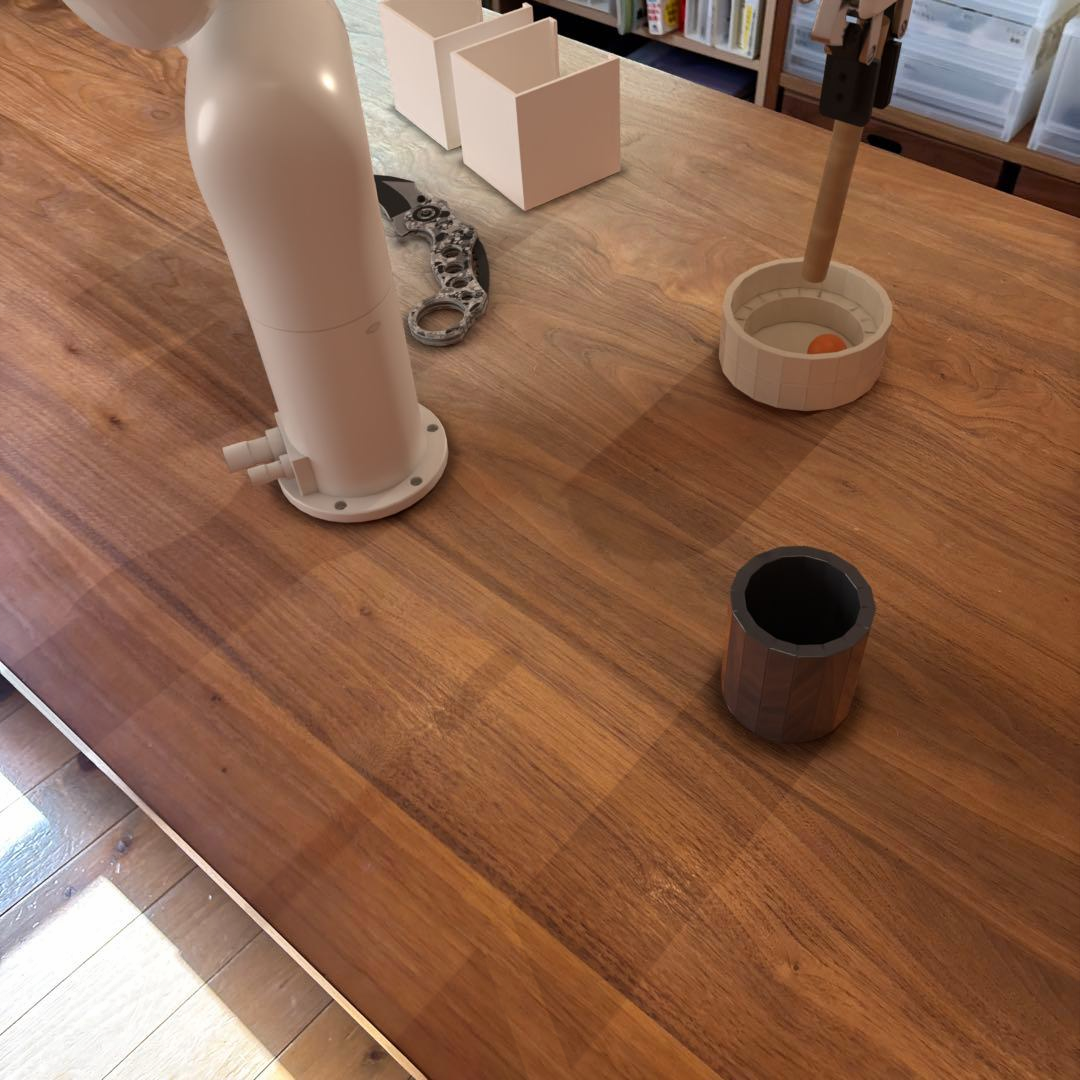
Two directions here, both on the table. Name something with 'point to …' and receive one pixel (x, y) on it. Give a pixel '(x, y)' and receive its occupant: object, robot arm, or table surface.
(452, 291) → the knife
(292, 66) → the robot arm
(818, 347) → the bead
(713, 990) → the table surface
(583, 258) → the table surface
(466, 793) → the table surface
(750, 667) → the utensil pot
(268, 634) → the table surface
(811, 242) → the stirring stick
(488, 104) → the open boxes
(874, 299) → the bowl
